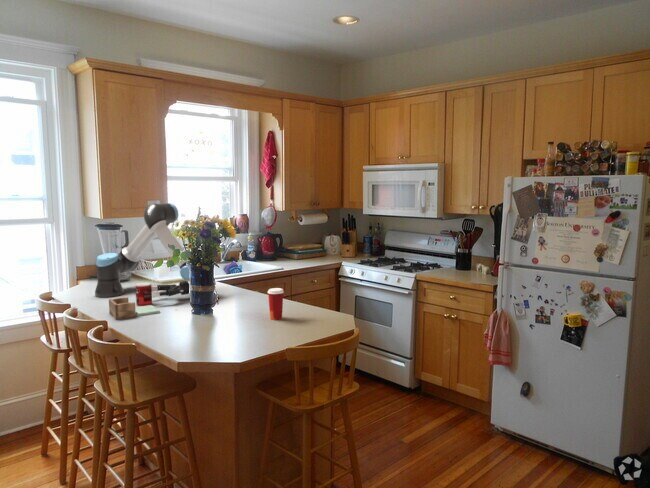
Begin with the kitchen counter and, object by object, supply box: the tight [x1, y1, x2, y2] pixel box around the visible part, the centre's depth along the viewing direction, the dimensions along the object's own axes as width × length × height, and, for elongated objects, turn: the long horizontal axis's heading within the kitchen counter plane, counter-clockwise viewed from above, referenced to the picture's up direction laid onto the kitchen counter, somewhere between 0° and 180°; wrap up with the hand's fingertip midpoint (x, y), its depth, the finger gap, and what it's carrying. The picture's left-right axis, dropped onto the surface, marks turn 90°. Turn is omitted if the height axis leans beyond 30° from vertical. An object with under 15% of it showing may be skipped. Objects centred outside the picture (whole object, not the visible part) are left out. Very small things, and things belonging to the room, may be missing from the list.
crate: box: [108, 296, 161, 320], centre depth 245 cm, size 20×14×7 cm
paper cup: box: [267, 287, 285, 321], centre depth 235 cm, size 8×8×14 cm
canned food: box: [135, 282, 153, 307], centre depth 263 cm, size 8×8×11 cm
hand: (148, 292), depth 263 cm, fingers open, 13 cm apart
